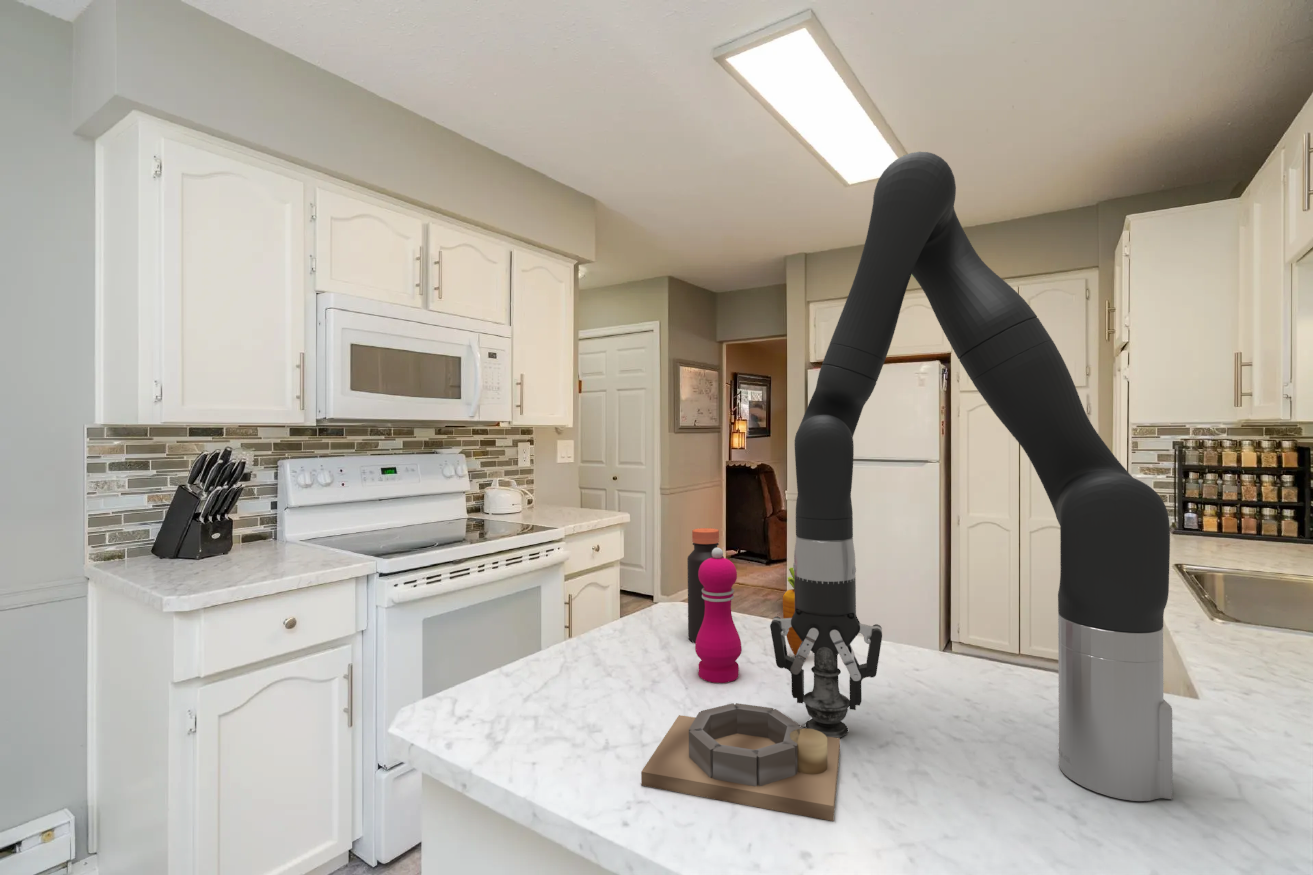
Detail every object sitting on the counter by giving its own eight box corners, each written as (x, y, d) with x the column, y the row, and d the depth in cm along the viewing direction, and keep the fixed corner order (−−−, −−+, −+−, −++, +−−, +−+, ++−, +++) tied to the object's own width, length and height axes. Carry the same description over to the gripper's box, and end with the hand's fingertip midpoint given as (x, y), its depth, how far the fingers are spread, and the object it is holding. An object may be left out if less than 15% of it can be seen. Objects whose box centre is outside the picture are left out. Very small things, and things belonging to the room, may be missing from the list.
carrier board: (840, 750, 74) (839, 713, 74) (833, 821, 61) (833, 775, 61) (679, 726, 80) (678, 691, 80) (641, 785, 67) (641, 743, 67)
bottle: (686, 644, 111) (684, 532, 111) (690, 632, 118) (689, 527, 118) (724, 645, 110) (722, 533, 110) (726, 633, 117) (725, 527, 117)
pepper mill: (749, 672, 98) (748, 545, 98) (729, 688, 92) (728, 553, 92) (708, 663, 102) (707, 541, 102) (687, 678, 96) (685, 549, 96)
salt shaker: (853, 741, 76) (852, 642, 76) (803, 737, 77) (802, 640, 77) (848, 719, 81) (847, 627, 81) (802, 715, 83) (800, 625, 82)
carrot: (816, 663, 101) (815, 572, 101) (786, 663, 101) (785, 572, 101) (809, 652, 106) (808, 565, 106) (780, 652, 106) (779, 565, 106)
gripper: (884, 569, 80) (885, 698, 80) (771, 563, 85) (773, 685, 85) (885, 582, 73) (887, 725, 73) (763, 575, 78) (764, 709, 78)
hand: (826, 703), depth 79 cm, fingers closed on salt shaker, 6 cm apart
